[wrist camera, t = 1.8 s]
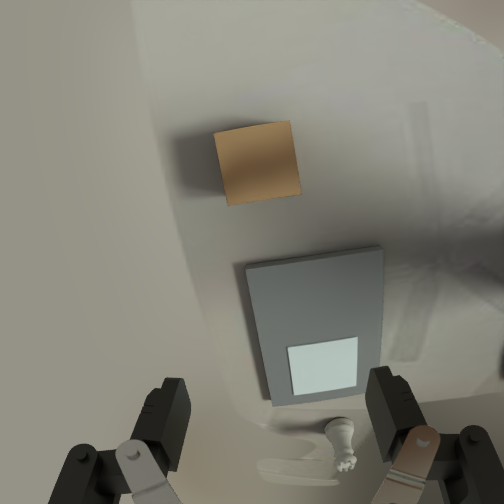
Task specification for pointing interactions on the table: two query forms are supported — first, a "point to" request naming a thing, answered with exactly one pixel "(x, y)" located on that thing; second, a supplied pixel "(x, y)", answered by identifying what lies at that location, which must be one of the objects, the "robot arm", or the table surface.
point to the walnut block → (258, 162)
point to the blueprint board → (318, 323)
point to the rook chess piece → (341, 442)
